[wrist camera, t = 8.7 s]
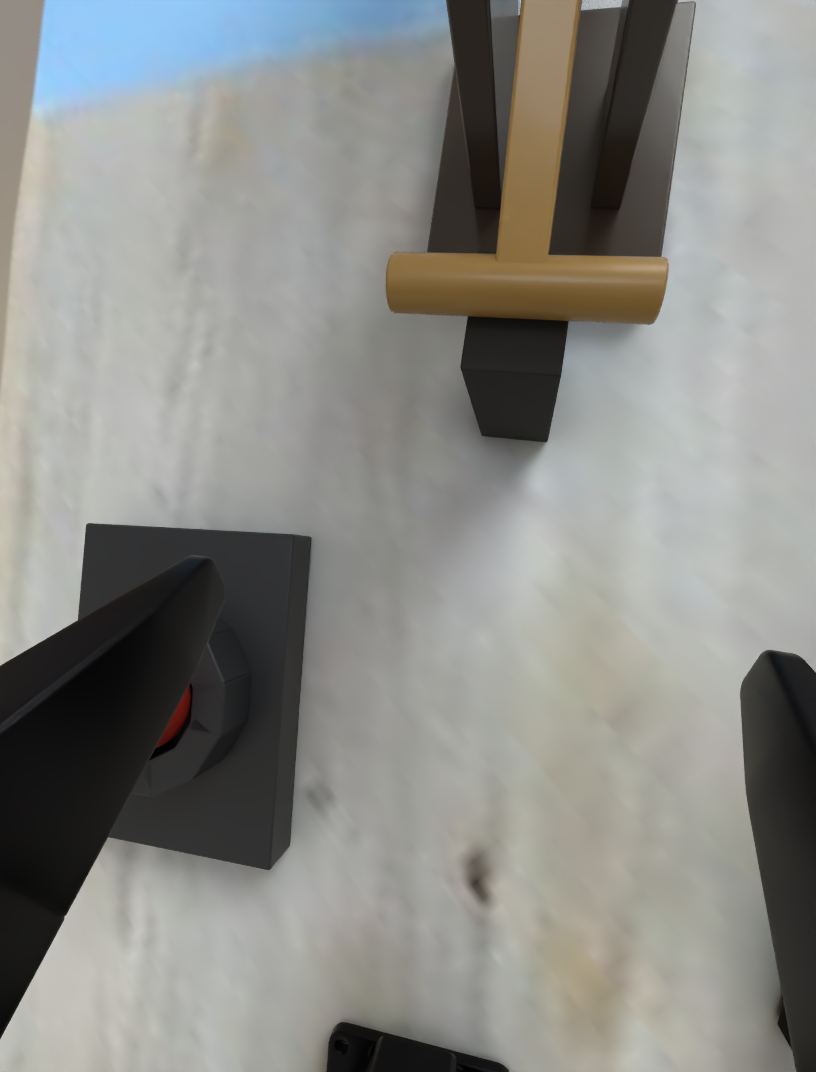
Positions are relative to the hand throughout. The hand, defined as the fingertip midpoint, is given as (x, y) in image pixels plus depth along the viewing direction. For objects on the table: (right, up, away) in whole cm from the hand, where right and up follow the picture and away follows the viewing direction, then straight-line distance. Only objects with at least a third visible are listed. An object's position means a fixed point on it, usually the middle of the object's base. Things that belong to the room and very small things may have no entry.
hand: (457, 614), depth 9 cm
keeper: (+3, +6, +11) cm, 13 cm away
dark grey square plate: (-9, -5, +13) cm, 16 cm away
